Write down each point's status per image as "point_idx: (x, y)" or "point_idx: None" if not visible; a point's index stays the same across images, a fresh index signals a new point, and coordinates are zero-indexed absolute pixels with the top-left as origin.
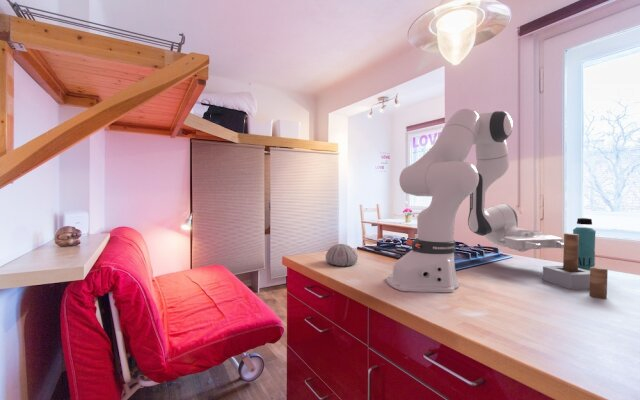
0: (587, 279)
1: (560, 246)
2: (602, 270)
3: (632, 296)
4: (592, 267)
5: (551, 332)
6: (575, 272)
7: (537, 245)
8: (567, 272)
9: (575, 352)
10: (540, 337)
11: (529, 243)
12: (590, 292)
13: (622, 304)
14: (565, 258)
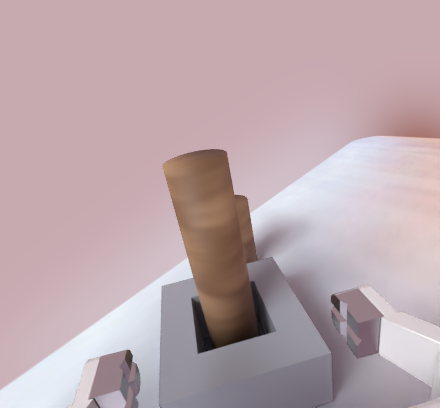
0: None
1: (134, 374)
2: (234, 195)
3: (158, 280)
4: (239, 205)
5: (390, 163)
6: None
7: (359, 289)
8: (268, 277)
9: (375, 151)
10: (404, 156)
11: (430, 328)
12: (256, 257)
13: None
14: (246, 265)
